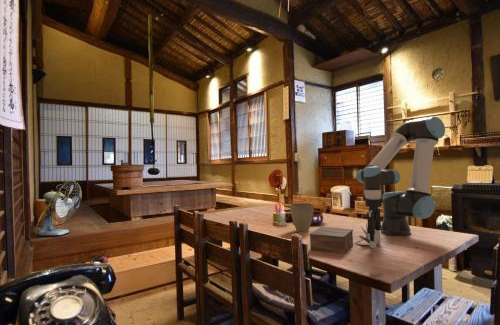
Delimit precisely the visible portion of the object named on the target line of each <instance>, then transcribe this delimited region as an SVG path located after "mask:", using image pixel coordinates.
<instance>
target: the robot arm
mask: <svg viewBox="0 0 500 325" xmlns="http://www.w3.org/2000/svg"><path fill="white" fill-rule="evenodd" d="M445 135H446V127H445V124H444V122H443V120H442V119H441V118H439V117H437V116H427V117H422V118H417V119H411V120H407V121H406V122H404V123H402V124H401V125H399V127H397V128H396V129H395V130H394V132H393V133H392V134H391V135H390V139H389V140H388V141H387V142H386V143H385V145H384V146H383V147H382V148H381V149H380V151H379V152H378V153H377V154H376V155H375V156H374V158H372V160H371V161H370V163H369V164H368V165H367V166H365V167H364V169H359V170H358V171H356V176H355V177H356V180H357V182H359V183H361V184H364V191H363V193H364V198H365V199H364V205H365V207H367V208H368V211H367V212H366V216H367V228H368V232H367V231H366V232H367V234H369V238H370V244H369V248H371V249H377V245H381V244H382V243H381V233H382V234H385V235H389V236H390V235H391V236H408V235H410V234H411V228H410V225H409V223H408V222H409V221H408V220H407V217H412V218H416V219H428V218H430V217H431V216H432V215H433V214H434V212H435V209H436V202H435V198H433V197H432V193H431V192H430V191H429V187H430V180H431V172H432V166H433V157H434V149H435V146H436V145H438V144H439V139H442V138H443V137H444V136H445ZM410 142H413V143H414V145H415V148H414V156H413V162H412V169H411V175H410V183H409V184H410V185H409V187H408V188H407V189H406V190H401V191H390V192H389V191H388V192H384V193H383V194H382V186H388V185H392V186H393V185H396V184H398V183H399V182H400V180H401V174H400V172H399V171H398V170H397V169H392V168H389V169H386V167H387V166H388V164H390V163H391V161H392V159H394V157H395V156H396V155H397V154H398V152H399V151H400V150H401V148H403V147H406V146H407V145H408V143H410ZM381 207H382V211H383V212H382V214H383V220H382V219H381V218H382V217H381V209H380V208H381Z"/></svg>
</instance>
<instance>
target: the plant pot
mask: <svg viewBox="0 0 500 325" xmlns="http://www.w3.org/2000/svg"><path fill="white" fill-rule="evenodd" d="M314 208H315V204H313V203H304V202H299V203H292V204H289V211H290V216H291V219H292V221H293V226H294V228H295V230H296V232H299V233H307V232H309V230H310V227H311V224H312V220H313V216H314V211H315V210H314Z"/></svg>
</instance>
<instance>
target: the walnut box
mask: <svg viewBox="0 0 500 325" xmlns="http://www.w3.org/2000/svg"><path fill="white" fill-rule="evenodd" d="M353 232H354V229H351V228H341V227H340V228H339V227H328V226H319V227H318V228H316V229H314V230H313V231H312V232H309V233H308V234H309V240H310V241H309V243H310V250H311V251H318V252H325V253H334V254H340V255H341V254H342V255H344V254H346V253H347V252H348V251H349V250H350V249H351V248H352V247H353V246H354V237H353V236H354V235H353Z"/></svg>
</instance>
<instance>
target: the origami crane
mask: <svg viewBox="0 0 500 325" xmlns="http://www.w3.org/2000/svg"><path fill="white" fill-rule="evenodd" d="M365 226H366V230H365V229H364V228H363V227H362V226H360V228H361V229H362V231H363V233H364V234H365V236H363V235H360V234H359V236H358V238H360V239H359V240H358V241H355V242H353V245H355V244H359V243H361V242H362V241H365V242H366V243H367V244H369V245H370V238H369V234H367V232H368V222H365Z"/></svg>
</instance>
